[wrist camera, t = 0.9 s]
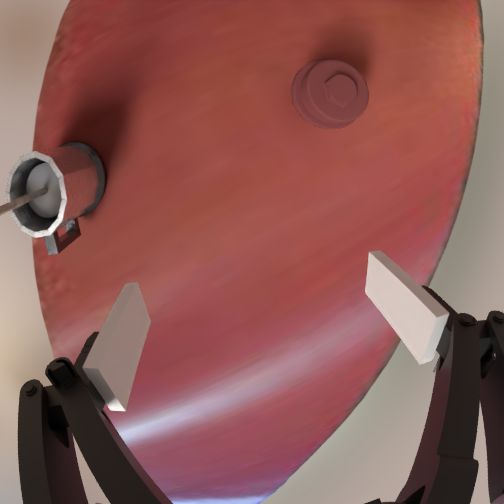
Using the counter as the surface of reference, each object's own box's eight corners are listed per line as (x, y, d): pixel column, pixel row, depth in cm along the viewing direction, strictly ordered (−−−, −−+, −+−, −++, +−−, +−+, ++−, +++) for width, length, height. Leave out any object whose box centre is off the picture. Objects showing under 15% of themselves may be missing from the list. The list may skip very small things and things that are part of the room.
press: (42, 151, 36) (-2, 161, 25) (101, 134, 37) (63, 136, 26) (56, 233, 43) (20, 261, 31) (114, 225, 43) (83, 254, 32)
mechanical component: (312, 60, 36) (352, 106, 40) (267, 95, 38) (310, 142, 42) (342, 38, 25) (392, 100, 28) (284, 80, 27) (340, 145, 30)
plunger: (25, 169, 30) (-77, 207, 11) (64, 156, 30) (-47, 188, 11) (34, 219, 33) (-57, 283, 14) (73, 211, 33) (-23, 280, 14)
